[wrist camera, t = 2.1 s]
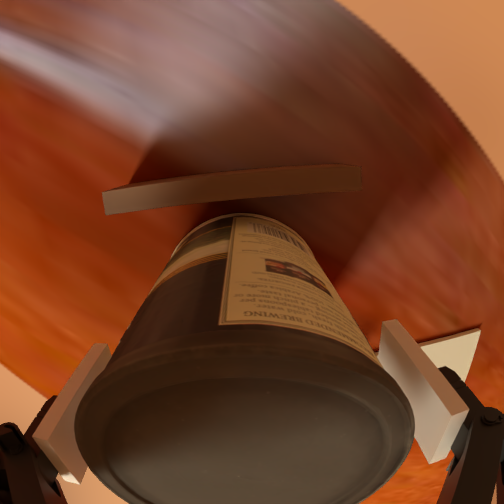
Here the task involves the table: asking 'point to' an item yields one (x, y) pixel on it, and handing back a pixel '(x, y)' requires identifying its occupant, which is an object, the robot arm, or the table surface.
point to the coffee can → (244, 382)
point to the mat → (452, 351)
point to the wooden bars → (233, 186)
